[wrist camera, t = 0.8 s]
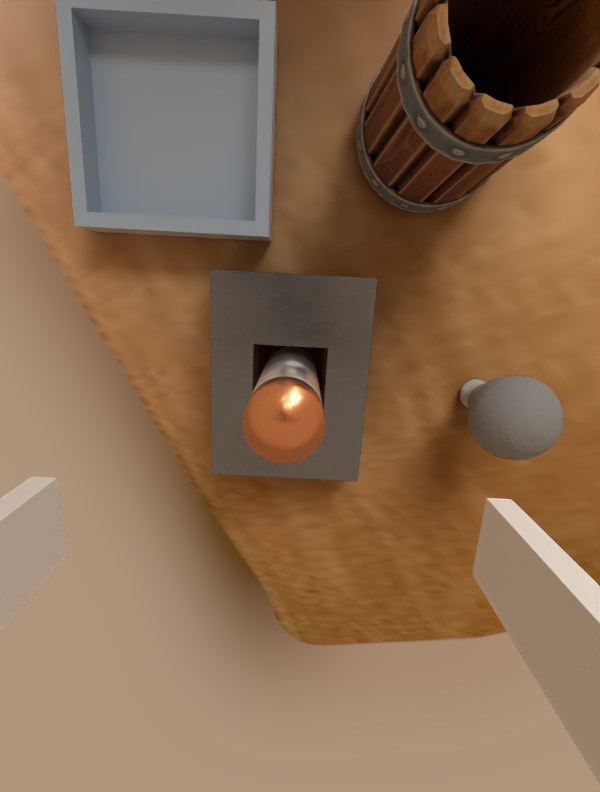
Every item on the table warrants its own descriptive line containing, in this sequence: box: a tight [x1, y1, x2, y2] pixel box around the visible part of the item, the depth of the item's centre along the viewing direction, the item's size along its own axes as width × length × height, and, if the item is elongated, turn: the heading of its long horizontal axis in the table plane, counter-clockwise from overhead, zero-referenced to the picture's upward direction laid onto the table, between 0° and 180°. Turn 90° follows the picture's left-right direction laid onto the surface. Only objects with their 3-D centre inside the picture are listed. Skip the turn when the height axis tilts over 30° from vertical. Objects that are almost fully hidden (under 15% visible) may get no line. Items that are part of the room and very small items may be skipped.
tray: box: [55, 0, 278, 241], centre depth 29 cm, size 14×14×3 cm
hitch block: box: [210, 269, 378, 481], centre depth 33 cm, size 16×12×4 cm
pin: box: [242, 347, 326, 464], centre depth 28 cm, size 4×4×14 cm
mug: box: [356, 0, 600, 213], centre depth 22 cm, size 16×11×15 cm
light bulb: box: [460, 375, 564, 460], centre depth 30 cm, size 6×6×10 cm
